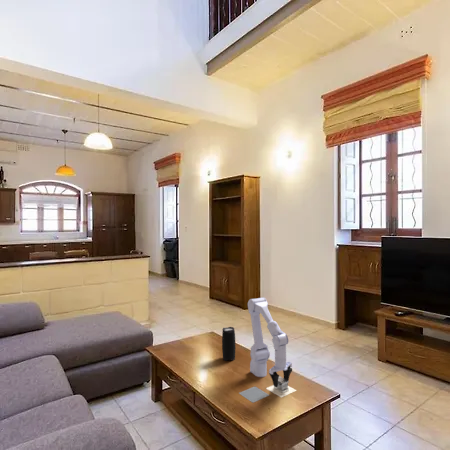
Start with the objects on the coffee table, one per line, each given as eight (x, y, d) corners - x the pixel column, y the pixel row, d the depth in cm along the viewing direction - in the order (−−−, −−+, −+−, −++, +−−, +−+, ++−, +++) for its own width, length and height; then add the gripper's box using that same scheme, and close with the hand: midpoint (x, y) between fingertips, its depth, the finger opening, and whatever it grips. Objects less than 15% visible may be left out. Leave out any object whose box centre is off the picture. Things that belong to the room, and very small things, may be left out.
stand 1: (238, 396, 159) (238, 393, 159) (255, 389, 165) (255, 386, 165) (252, 405, 150) (252, 402, 150) (269, 398, 156) (269, 395, 156)
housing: (273, 388, 163) (273, 378, 163) (279, 385, 165) (279, 376, 165) (282, 393, 158) (282, 383, 158) (288, 390, 160) (288, 380, 160)
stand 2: (265, 391, 163) (265, 388, 163) (280, 384, 169) (280, 381, 169) (281, 400, 154) (281, 397, 154) (296, 393, 160) (296, 390, 160)
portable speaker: (232, 355, 209) (232, 325, 209) (237, 360, 200) (237, 330, 200) (220, 357, 206) (220, 327, 206) (224, 362, 197) (224, 331, 197)
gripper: (275, 364, 154) (276, 391, 154) (296, 356, 163) (296, 382, 163) (266, 359, 160) (266, 386, 160) (285, 352, 168) (286, 377, 168)
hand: (280, 384), depth 162 cm, fingers open, 7 cm apart
